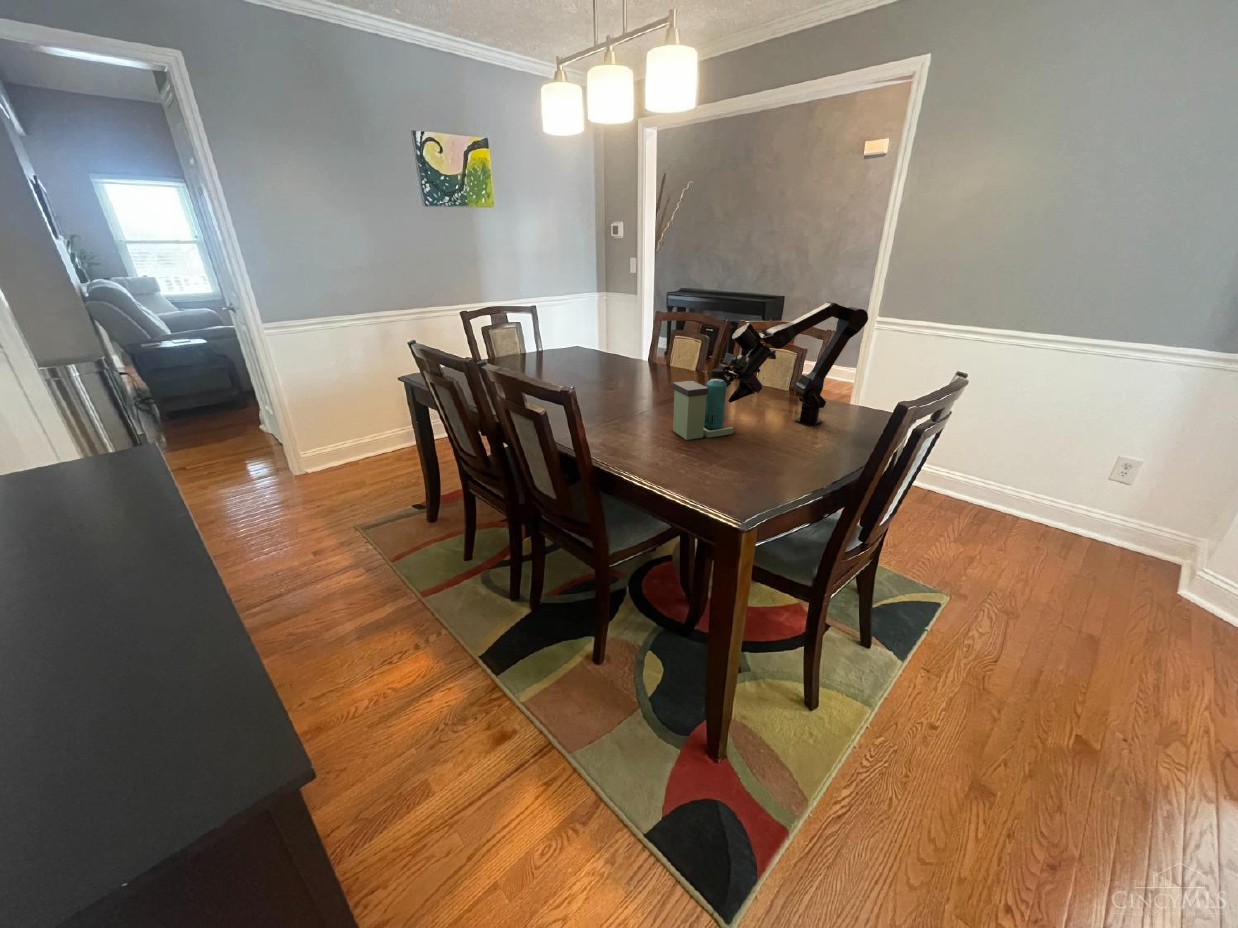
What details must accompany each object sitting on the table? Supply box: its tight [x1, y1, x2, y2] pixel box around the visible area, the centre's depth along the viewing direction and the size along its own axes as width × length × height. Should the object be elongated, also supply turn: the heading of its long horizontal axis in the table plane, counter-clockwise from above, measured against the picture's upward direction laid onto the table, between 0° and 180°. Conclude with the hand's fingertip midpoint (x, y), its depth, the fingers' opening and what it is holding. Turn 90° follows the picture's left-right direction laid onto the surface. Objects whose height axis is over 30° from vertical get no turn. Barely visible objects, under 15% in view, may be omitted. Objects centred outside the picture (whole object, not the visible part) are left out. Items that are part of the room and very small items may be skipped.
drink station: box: [672, 380, 735, 441], centre depth 156 cm, size 17×11×16 cm, turn 112°
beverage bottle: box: [704, 368, 727, 430], centre depth 156 cm, size 6×7×20 cm
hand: (721, 398), depth 157 cm, fingers open, 9 cm apart
